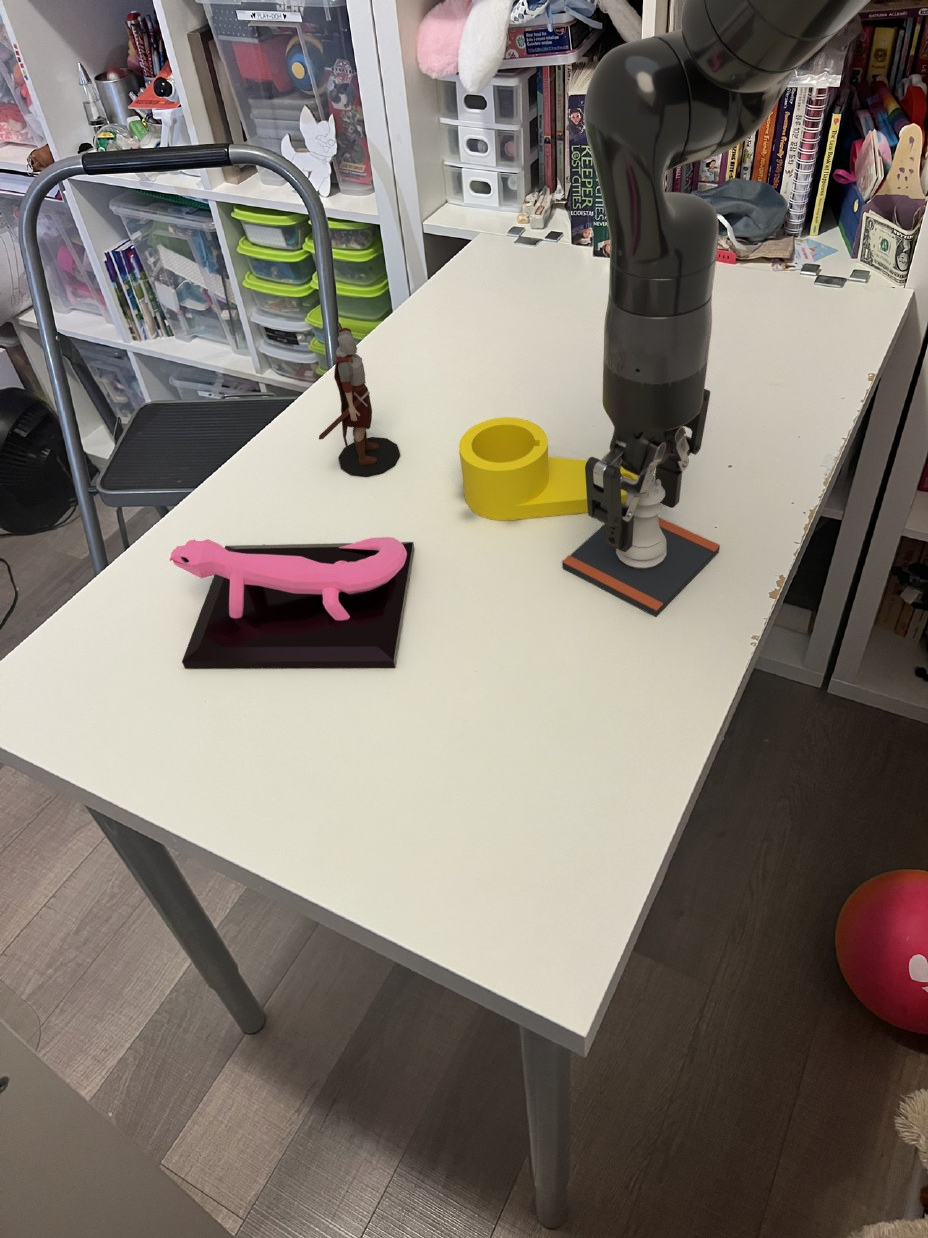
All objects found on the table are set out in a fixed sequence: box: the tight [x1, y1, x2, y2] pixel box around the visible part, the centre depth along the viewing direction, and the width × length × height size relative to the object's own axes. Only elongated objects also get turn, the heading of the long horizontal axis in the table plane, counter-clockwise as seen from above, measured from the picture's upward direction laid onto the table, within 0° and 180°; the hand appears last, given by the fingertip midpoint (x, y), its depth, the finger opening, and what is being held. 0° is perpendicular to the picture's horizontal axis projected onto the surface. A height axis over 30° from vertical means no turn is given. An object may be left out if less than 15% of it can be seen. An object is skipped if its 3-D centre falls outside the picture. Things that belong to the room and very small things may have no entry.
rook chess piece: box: [616, 475, 666, 569], centre depth 76 cm, size 4×4×8 cm
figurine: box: [318, 327, 401, 478], centre depth 89 cm, size 7×7×15 cm
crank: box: [458, 416, 638, 522], centre depth 85 cm, size 18×8×6 cm, turn 83°
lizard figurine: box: [169, 536, 415, 670], centre depth 77 cm, size 15×20×7 cm
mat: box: [561, 516, 721, 618], centre depth 79 cm, size 10×10×1 cm
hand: (643, 523), depth 76 cm, fingers open, 6 cm apart
